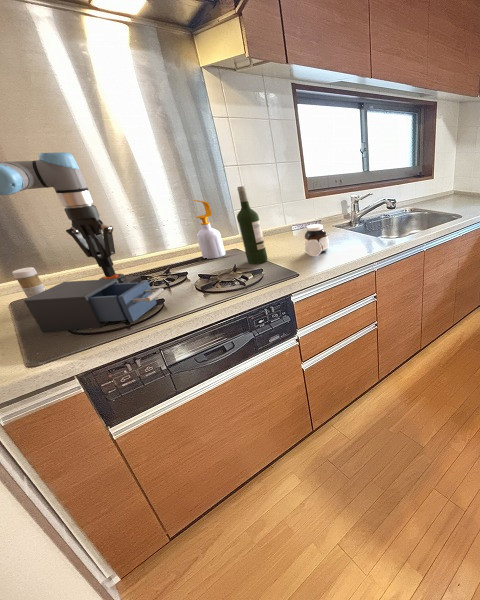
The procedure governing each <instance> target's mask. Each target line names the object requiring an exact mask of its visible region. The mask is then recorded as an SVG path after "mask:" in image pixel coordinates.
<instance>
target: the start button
mask: <svg viewBox="0 0 480 600" xmlns="http://www.w3.org/2000/svg"><path fill="white" fill-rule="evenodd" d="M118 274H119V273H116V274H114V275H113V276H111V277H106V276H105V275H104V276H105V277H104V276H103V277H104V279H114V278H117V277H119V276H118Z"/></svg>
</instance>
